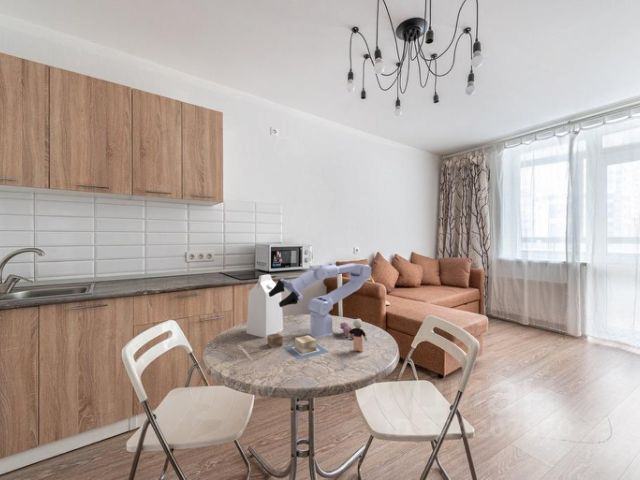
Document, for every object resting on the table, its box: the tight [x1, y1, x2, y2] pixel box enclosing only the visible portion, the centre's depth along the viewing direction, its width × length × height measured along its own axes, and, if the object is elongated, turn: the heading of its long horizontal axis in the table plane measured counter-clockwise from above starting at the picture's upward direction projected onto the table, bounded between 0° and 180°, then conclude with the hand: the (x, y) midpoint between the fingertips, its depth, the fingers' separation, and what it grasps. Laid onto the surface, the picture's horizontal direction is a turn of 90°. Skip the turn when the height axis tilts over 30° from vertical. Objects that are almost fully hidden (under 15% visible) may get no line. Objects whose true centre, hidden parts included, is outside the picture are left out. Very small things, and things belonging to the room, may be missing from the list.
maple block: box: [294, 334, 317, 354], centre depth 111 cm, size 6×6×4 cm
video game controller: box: [339, 321, 354, 340], centre depth 127 cm, size 10×5×7 cm, turn 5°
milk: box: [246, 274, 284, 339], centre depth 132 cm, size 12×12×26 cm
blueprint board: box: [282, 343, 329, 360], centre depth 111 cm, size 13×13×1 cm
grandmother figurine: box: [347, 318, 368, 353], centre depth 110 cm, size 8×4×13 cm, turn 71°
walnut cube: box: [266, 332, 283, 349], centre depth 115 cm, size 4×4×4 cm
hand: (274, 299), depth 117 cm, fingers open, 7 cm apart
